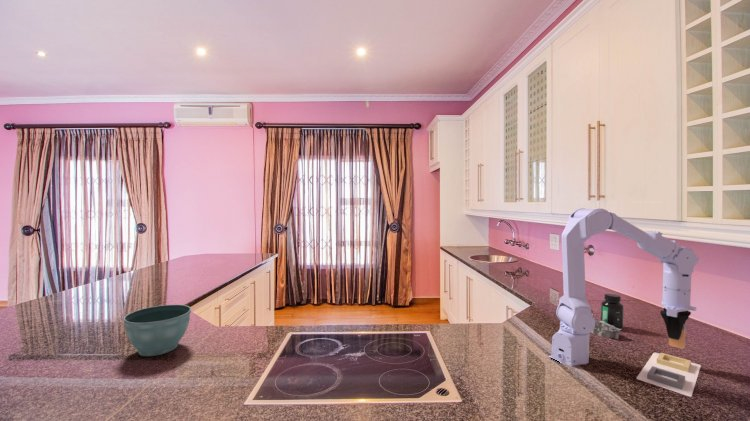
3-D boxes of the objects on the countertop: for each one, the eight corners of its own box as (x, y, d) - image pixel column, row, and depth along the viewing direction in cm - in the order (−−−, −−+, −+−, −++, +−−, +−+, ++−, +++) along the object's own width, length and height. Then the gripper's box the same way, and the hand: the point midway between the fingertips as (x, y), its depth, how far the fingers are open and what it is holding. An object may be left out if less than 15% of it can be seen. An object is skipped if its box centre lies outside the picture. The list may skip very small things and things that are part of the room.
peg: (683, 349, 87) (684, 327, 87) (668, 345, 89) (669, 323, 89) (684, 346, 89) (685, 324, 89) (670, 342, 91) (671, 321, 91)
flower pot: (111, 354, 89) (111, 315, 89) (170, 334, 104) (171, 301, 104) (142, 369, 82) (143, 327, 82) (202, 345, 96) (202, 309, 96)
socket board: (691, 400, 73) (691, 391, 73) (636, 381, 81) (636, 373, 81) (700, 367, 89) (701, 360, 89) (653, 354, 97) (654, 348, 97)
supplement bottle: (604, 329, 117) (605, 296, 117) (597, 322, 123) (598, 291, 123) (626, 331, 115) (627, 298, 115) (618, 325, 121) (619, 293, 121)
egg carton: (580, 328, 118) (580, 317, 118) (600, 328, 118) (600, 317, 118) (602, 340, 108) (602, 327, 108) (623, 340, 108) (623, 328, 108)
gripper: (693, 296, 81) (691, 349, 81) (699, 287, 91) (697, 335, 91) (657, 290, 87) (655, 339, 87) (666, 282, 96) (664, 327, 96)
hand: (674, 337), depth 89 cm, fingers closed on peg, 3 cm apart
